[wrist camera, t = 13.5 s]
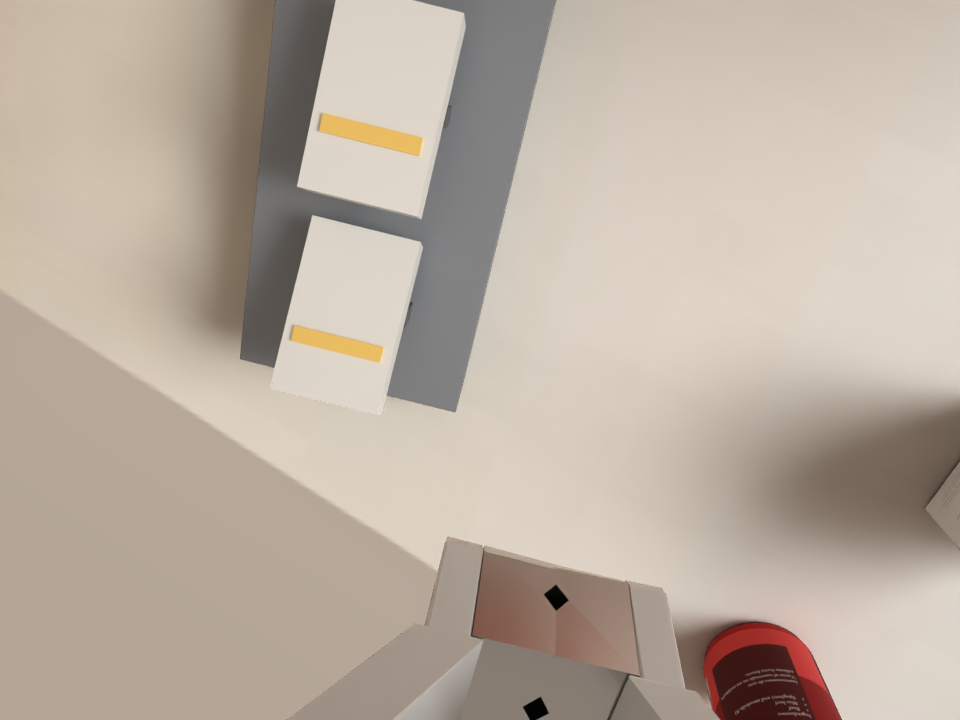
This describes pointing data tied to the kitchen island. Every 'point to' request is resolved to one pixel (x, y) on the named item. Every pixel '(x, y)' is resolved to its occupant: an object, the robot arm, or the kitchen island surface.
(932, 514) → the supplement box
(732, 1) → the kitchen island surface
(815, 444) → the kitchen island surface
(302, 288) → the block
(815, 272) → the kitchen island surface
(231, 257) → the kitchen island surface
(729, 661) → the canned food
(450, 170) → the console
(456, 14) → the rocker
